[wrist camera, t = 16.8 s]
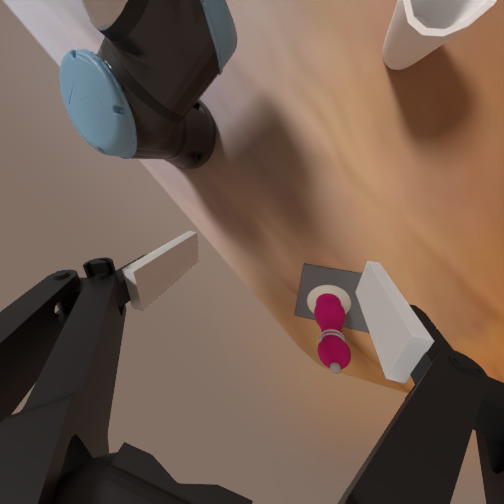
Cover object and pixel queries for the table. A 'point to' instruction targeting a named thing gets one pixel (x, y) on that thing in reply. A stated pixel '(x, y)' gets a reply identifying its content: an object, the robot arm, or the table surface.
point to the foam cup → (427, 27)
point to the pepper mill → (331, 332)
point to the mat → (332, 282)
